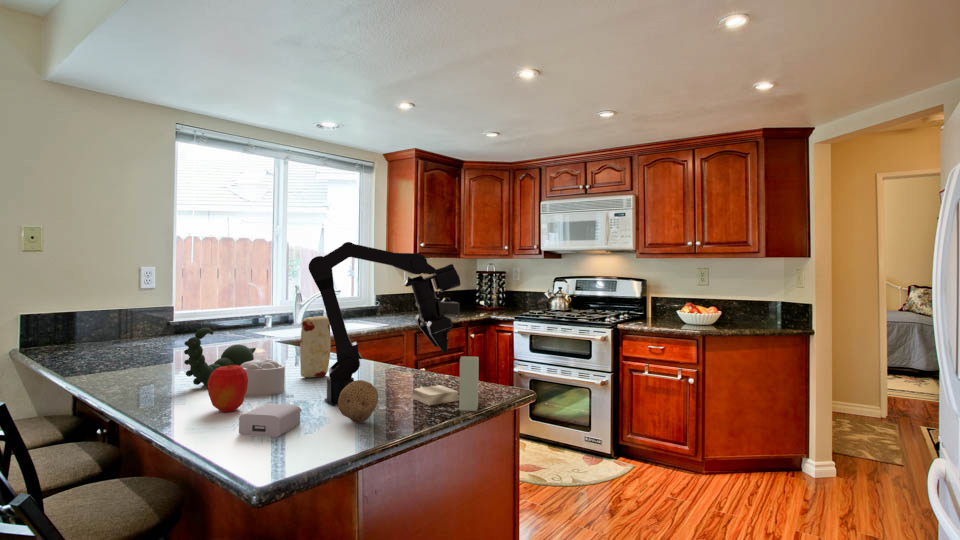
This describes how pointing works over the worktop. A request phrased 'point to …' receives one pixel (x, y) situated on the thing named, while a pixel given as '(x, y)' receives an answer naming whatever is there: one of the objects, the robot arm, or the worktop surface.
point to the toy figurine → (198, 361)
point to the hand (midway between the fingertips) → (441, 349)
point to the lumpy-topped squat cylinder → (264, 377)
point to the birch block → (435, 395)
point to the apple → (228, 387)
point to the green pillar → (468, 383)
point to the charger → (269, 420)
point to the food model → (315, 346)
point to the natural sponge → (358, 401)
